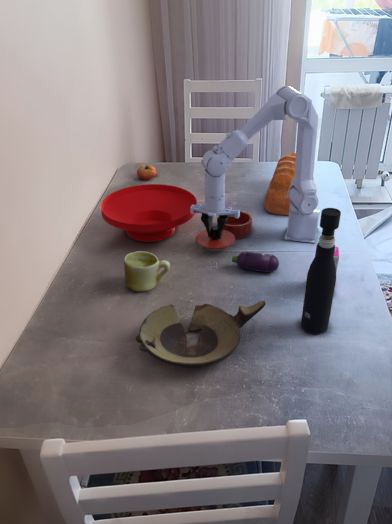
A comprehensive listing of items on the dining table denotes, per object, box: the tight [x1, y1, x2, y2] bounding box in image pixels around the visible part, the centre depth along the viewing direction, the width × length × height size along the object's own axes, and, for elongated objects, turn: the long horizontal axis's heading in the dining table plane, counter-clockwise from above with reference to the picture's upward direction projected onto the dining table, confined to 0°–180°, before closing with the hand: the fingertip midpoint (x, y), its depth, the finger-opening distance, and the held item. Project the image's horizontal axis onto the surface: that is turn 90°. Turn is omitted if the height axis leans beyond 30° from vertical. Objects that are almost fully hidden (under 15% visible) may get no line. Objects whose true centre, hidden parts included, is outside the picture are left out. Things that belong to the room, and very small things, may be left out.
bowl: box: [100, 183, 198, 243], centre depth 156 cm, size 30×30×10 cm
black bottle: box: [300, 207, 342, 336], centre depth 107 cm, size 6×6×30 cm
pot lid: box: [195, 225, 236, 250], centre depth 146 cm, size 12×12×4 cm
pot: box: [216, 210, 253, 240], centre depth 156 cm, size 11×11×4 cm
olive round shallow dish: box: [134, 300, 267, 368], centre depth 110 cm, size 22×30×8 cm
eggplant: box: [231, 250, 280, 273], centre depth 136 cm, size 13×5×5 cm, turn 73°
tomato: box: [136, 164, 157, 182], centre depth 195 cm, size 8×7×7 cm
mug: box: [123, 250, 171, 292], centre depth 131 cm, size 12×10×10 cm
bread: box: [263, 152, 315, 216], centre depth 172 cm, size 16×31×13 cm, turn 165°
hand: (215, 236), depth 146 cm, fingers closed on pot lid, 2 cm apart
